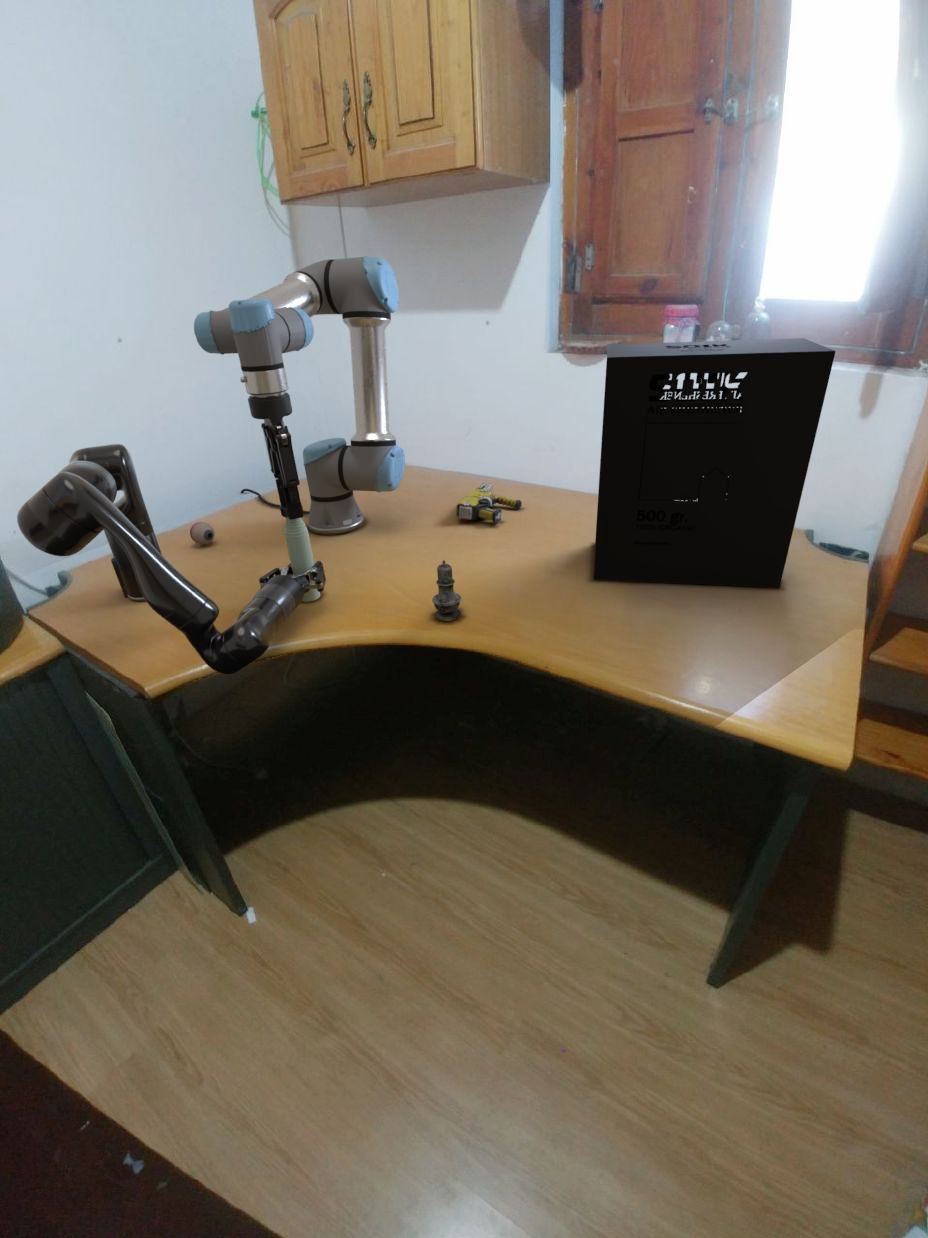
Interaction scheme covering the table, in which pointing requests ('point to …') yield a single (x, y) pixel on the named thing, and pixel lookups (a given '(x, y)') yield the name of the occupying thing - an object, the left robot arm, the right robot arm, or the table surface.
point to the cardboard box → (706, 459)
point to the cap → (285, 510)
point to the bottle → (300, 551)
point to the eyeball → (202, 533)
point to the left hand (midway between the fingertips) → (308, 564)
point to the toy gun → (483, 505)
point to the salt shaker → (446, 595)
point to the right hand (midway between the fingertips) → (292, 513)
